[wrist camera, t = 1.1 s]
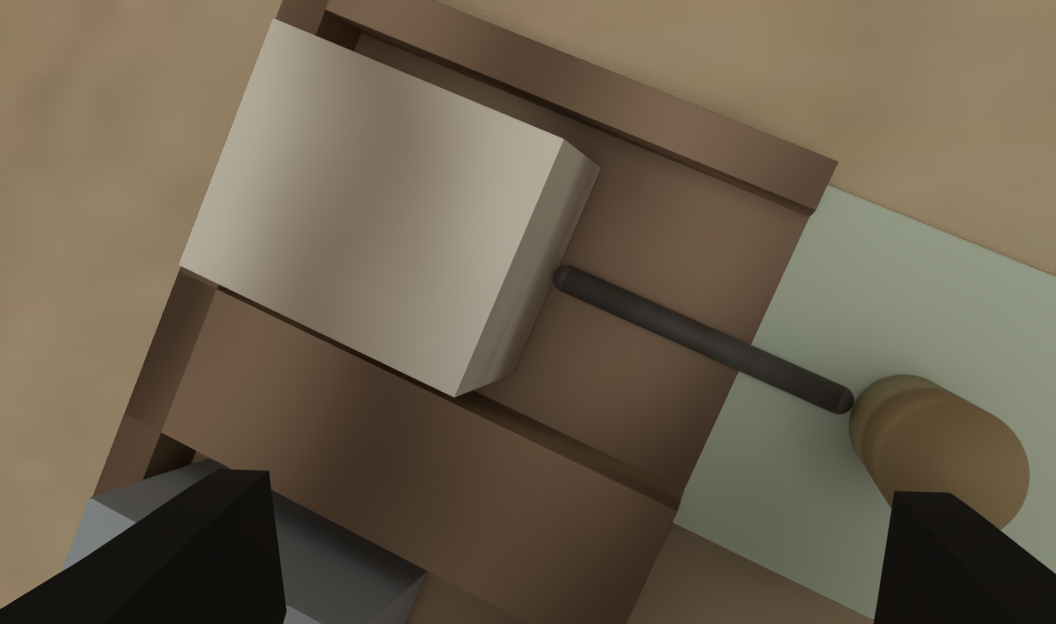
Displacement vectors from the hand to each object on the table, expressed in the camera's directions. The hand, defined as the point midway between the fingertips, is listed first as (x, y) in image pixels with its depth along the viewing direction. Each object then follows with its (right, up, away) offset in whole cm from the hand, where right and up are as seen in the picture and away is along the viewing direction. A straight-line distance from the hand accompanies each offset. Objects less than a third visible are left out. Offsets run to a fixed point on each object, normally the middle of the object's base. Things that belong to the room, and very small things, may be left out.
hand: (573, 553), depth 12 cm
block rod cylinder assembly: (+1, +3, +10) cm, 11 cm away
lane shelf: (-3, 0, +13) cm, 13 cm away
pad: (+8, 0, +10) cm, 13 cm away
